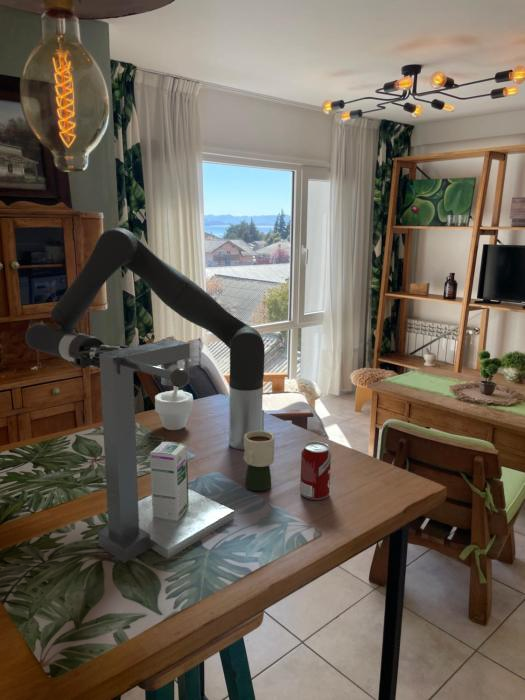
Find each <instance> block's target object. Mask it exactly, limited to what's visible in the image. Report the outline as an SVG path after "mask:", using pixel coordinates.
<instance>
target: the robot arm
mask: <svg viewBox="0 0 525 700" xmlns="http://www.w3.org/2000/svg"><path fill="white" fill-rule="evenodd" d="M92 250H93V251H92V252H91V253H90V256H89V258H88V259H87V261H86V263H85V265H84V267H83V268H82V269H81V271H80V272H79V274H78V275H77V277H76V278H75V280H73V282H72V283H71V284H70V286H69V287H68V288H67V289H66V290H65V291H64V293H63V294H62V295H61V297H60V298H59V300H57V303H56V304H55V305H54V307H53V308H52V309H51V311H50V318H51V319H52V320H53V322H55V324H57V325H58V327H57V328H56V327H55V326H54V327H53V326H51V325H47V324H45V323H42V322H38V323H34V324H32V325H31V326H30V327H28V329H26V331H25V336H24V338H25V343H26V344H27V346H28V347H29V348H30V349H31V350H32V349H33V350H35V351H39V352H42V353H44V354H47V355H51V356H56V357H58V358H59V359H64V360H66V361H68V362H70V364H71V365H73V366H75V367H78V368H80V369H85V368H97V369H100V358H99V354H102V353H103V352H109V351H114V350H119V349H124V348H129V347H132V346H130V345H125V344H121V343H117V344H116V345H115V346H114V345H109V344H105V343H104V342H103V341H102V339H100V338H98V337H96V336H92V335H88V334H84V333H82V332H81V333H80V332H74V330H75V328H76V326H77V324H78V323H79V322H80V320H81V319H82V318H83V317H84V315H85V314H86V312H87V311H88V309H89V308H90V307H91V305H92V303H93V302H94V300H95V299H96V297H97V295H98V293H99V292H100V290H101V289H102V287H103V285H105V283H106V282H107V281H108V279H110V278H111V276H112V275H114V273H116V271H118V270H119V269H120V268H121V267H124V268H126V269H127V270H129V271H130V272H132V273H133V274H135V275H136V276H138V278H140V279H141V280H143V281H144V282H145V284H147V286H148V287H149V288H150V290H151V291H153V293H154V294H155V295H156V296H157V297H158V298H159V300H161V301H162V302H163V303H164V304H165V305H166V306H167V307H168V308H169V309H171V310H172V311H174V312H175V313H176V314H178V315H179V316H180V317H181V318H183V319H185V320H187V321H188V322H190V323H192V324H194V325H196V326H197V327H200V328H203V329H204V330H206V331H208V332H210V333H212V334H213V335H214V336H215V337H216V338H218V339H219V341H221V342H222V343H223V344H224V345H225V346H226V347H227V348H229V377H228V378H229V379H228V380H229V384H228V385H229V395H228V396H229V403H228V404H229V405H228V406H229V409H228V410H229V411H228V412H229V414H228V415H229V417H228V419H229V420H228V421H229V424H228V426H229V427H228V431H229V432H228V435H229V437H228V441H229V442H228V444H229V446H230V447H231V448H233V449H235V450H241V451H245V448H244V435H245V434H246V433H248V432H251V431H265V430H264V429H265V410H264V409H263V395H264V394H263V393H264V392H263V390H264V389H263V388H264V375H265V357H266V355H265V353H266V352H265V342H264V340H263V338H262V335H261V334H260V332H259V331H258V330H257V329H255V328H254V327H252V326H251V325H249V324H246V323H245V322H243V321H242V320H240V319H239V318H237V317H236V316H234V315H232V314H231V313H230V312H229V311H227V310H226V309H225V308H224V307H223V306H222V305H221V304H220V303H219V302H217V301H216V300H215V298H213V297H212V296H211V295H210V294H208V293H207V292H206V291H205V290H204V289H203V288H202V287H200V286H199V285H198V284H197V283H195V281H192V280H191V279H190V278H189V277H188V276H186V275H184V274H183V273H182V272H180V271H179V270H178V269H176V268H175V267H173V266H172V265H170V264H169V263H167V262H166V261H164V260H162V258H160V257H158V255H156V253H154V252H153V251H151V250H150V248H148V246H146V245H145V244H144V243H143V242H142V241H141V240H140V239H139V238H138V237H137V236H136V235H135V234H134V233H133V232H132V231H130V230H128V229H126V228H123V227H113V228H110V229H108V230H105V231H103V232H102V234H100V236H99V237H98V240H97V241H96V244H95V246H94V249H92Z"/></svg>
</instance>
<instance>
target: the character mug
mask: <svg viewBox="0 0 525 700" xmlns="http://www.w3.org/2000/svg"><path fill="white" fill-rule="evenodd" d="M275 441H276V439H275V435H274V434H273V433H271V432H270V431H266V430H264V431H251V432H248V433H246V434H245V435H244V448H245V450H243V451H244V453H243V460H244V462H245V464H247V469H246V475H245V483H244V485H245V488H246V489H247V490H251V491H267V490H270V488H271V487H272V477H271V476H272V474H271V468H270V466H271V465H273V463H274V460H275Z"/></svg>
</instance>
